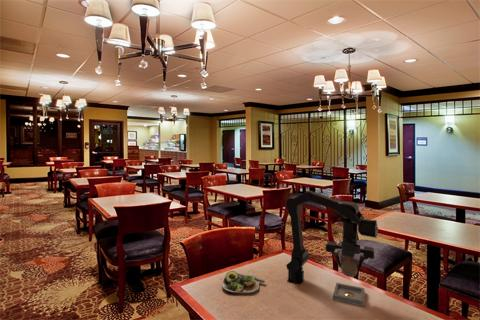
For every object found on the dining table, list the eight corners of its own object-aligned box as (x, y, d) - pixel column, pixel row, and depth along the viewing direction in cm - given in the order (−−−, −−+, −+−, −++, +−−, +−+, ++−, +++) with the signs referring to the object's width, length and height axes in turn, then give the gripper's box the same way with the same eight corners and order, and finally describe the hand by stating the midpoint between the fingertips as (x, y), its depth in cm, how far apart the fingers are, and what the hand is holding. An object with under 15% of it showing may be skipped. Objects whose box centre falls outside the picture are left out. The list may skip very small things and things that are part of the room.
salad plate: (264, 276, 138) (264, 267, 138) (265, 296, 121) (265, 286, 120) (225, 275, 140) (225, 266, 139) (220, 295, 122) (220, 284, 122)
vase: (359, 279, 115) (359, 258, 115) (341, 278, 117) (341, 257, 116) (356, 271, 122) (356, 251, 122) (339, 270, 123) (339, 250, 123)
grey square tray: (332, 299, 117) (332, 295, 117) (335, 286, 128) (335, 282, 128) (363, 307, 112) (363, 302, 112) (364, 292, 123) (364, 288, 123)
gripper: (323, 235, 115) (323, 272, 116) (374, 242, 107) (373, 282, 108) (328, 228, 125) (327, 262, 126) (374, 234, 117) (373, 270, 118)
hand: (349, 269), depth 119 cm, fingers closed on vase, 7 cm apart
